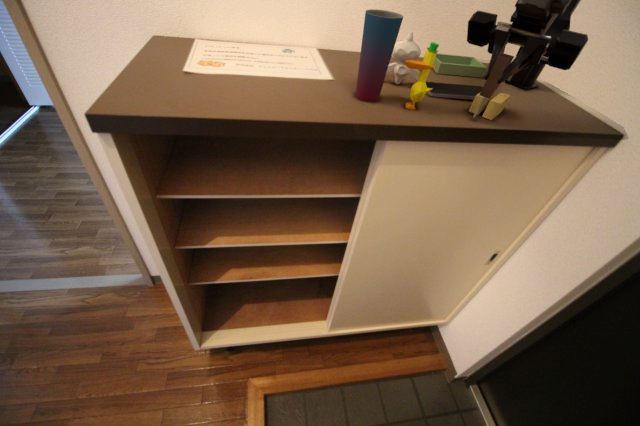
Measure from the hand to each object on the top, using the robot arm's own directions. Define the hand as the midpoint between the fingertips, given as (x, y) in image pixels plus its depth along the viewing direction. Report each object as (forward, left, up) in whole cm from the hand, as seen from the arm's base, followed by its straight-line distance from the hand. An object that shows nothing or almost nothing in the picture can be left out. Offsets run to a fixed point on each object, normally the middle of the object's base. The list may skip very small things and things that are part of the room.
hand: (492, 80), depth 52 cm
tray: (-23, -25, -8) cm, 34 cm away
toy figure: (+8, -10, -8) cm, 15 cm away
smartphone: (-9, -12, -8) cm, 17 cm away
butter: (-7, -2, -8) cm, 11 cm away
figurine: (+2, -21, -8) cm, 22 cm away
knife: (-1, 0, -7) cm, 7 cm away
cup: (+14, -17, -8) cm, 23 cm away
